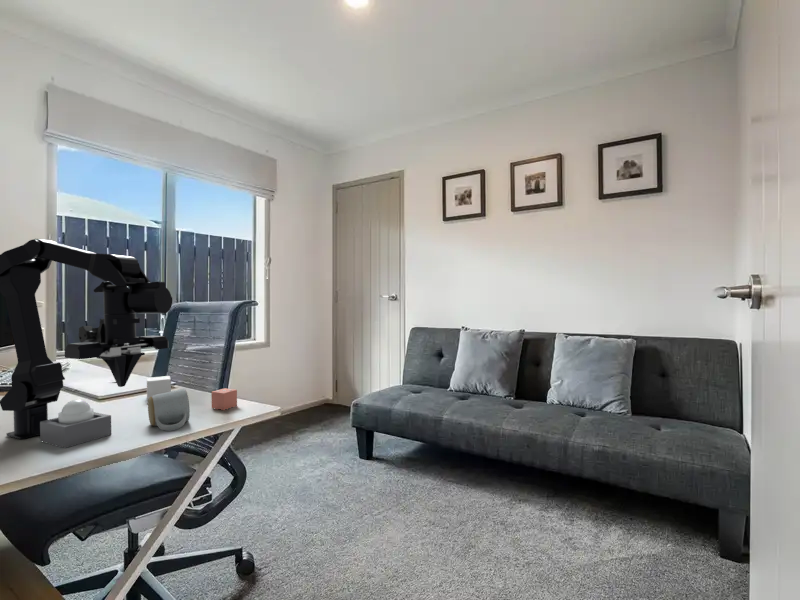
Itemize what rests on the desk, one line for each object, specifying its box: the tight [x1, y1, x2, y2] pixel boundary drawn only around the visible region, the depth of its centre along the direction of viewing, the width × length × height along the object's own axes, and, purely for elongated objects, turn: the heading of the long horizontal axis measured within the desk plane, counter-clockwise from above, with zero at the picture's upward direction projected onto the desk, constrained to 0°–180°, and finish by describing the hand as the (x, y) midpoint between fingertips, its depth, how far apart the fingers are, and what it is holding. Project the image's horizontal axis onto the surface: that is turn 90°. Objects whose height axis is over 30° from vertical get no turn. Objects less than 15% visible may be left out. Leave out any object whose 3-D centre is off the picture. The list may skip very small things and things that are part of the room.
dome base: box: [39, 411, 112, 449], centre depth 92 cm, size 9×9×4 cm
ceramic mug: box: [147, 388, 191, 432], centre depth 101 cm, size 11×8×8 cm
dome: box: [57, 398, 94, 425], centre depth 92 cm, size 6×6×5 cm
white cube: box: [146, 375, 172, 403], centre depth 127 cm, size 6×6×6 cm
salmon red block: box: [211, 387, 238, 411], centre depth 116 cm, size 4×4×5 cm
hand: (121, 386), depth 92 cm, fingers closed
